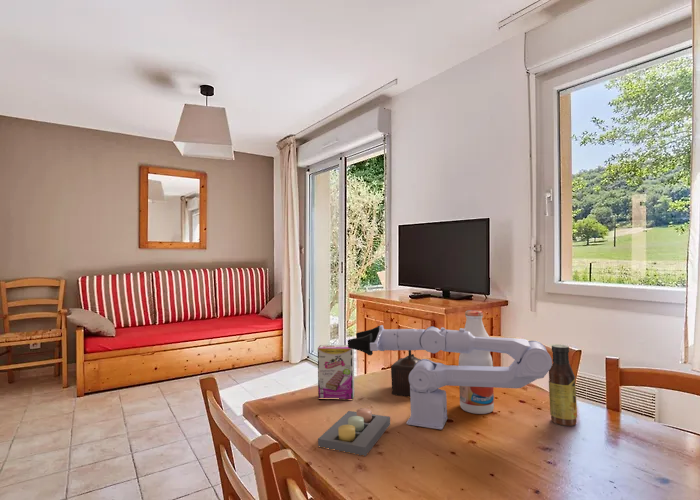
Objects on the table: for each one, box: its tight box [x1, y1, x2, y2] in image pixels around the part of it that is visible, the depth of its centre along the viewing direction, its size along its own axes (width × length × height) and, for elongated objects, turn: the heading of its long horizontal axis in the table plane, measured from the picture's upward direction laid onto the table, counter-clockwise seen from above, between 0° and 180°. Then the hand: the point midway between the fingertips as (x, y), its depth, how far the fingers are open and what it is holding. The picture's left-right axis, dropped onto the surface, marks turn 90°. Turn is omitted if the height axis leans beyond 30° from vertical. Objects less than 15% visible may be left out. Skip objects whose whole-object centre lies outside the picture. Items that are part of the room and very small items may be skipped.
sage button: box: [348, 416, 364, 433], centre depth 101 cm, size 4×4×2 cm
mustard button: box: [338, 425, 355, 443], centre depth 95 cm, size 4×4×2 cm
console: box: [317, 410, 391, 457], centre depth 101 cm, size 12×18×2 cm, turn 156°
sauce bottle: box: [548, 344, 578, 427], centre depth 105 cm, size 7×6×20 cm
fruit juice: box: [458, 309, 495, 415], centre depth 116 cm, size 9×9×28 cm
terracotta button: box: [356, 407, 373, 423], centre depth 106 cm, size 4×4×2 cm
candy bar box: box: [317, 344, 355, 400], centre depth 127 cm, size 11×5×16 cm, turn 84°
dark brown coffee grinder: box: [390, 350, 421, 398], centre depth 133 cm, size 16×11×18 cm
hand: (352, 340), depth 114 cm, fingers open, 7 cm apart
